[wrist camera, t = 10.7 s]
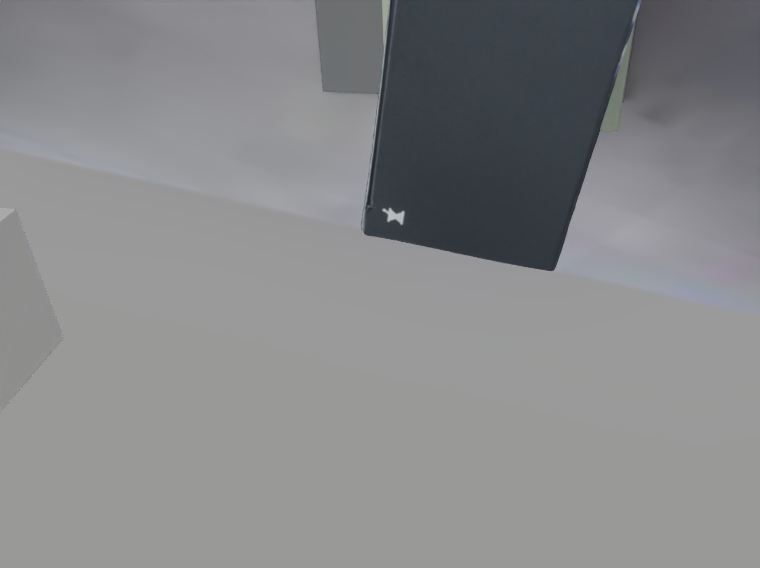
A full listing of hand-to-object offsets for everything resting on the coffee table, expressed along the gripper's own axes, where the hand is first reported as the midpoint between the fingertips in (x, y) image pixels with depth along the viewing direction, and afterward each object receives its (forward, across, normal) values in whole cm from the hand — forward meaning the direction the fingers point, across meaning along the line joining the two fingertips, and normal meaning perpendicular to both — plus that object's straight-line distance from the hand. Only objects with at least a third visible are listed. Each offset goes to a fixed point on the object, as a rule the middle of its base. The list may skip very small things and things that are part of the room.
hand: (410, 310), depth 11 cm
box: (+18, 0, 0) cm, 19 cm away
